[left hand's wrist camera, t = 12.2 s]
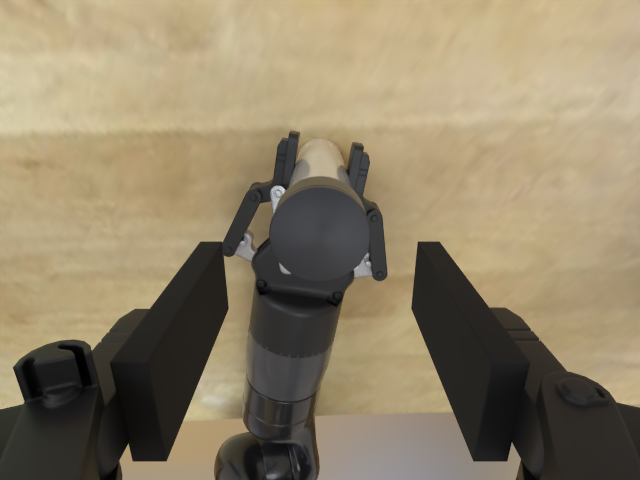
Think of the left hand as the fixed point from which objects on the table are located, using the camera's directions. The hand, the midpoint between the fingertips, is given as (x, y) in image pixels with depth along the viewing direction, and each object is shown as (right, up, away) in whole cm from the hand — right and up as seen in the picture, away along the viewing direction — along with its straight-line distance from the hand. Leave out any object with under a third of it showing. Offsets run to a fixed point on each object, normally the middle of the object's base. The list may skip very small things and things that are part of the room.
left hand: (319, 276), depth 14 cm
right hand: (0, +9, +15) cm, 17 cm away
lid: (0, +2, +4) cm, 4 cm away
